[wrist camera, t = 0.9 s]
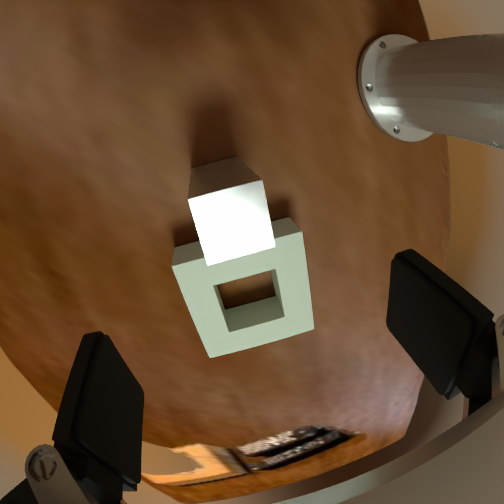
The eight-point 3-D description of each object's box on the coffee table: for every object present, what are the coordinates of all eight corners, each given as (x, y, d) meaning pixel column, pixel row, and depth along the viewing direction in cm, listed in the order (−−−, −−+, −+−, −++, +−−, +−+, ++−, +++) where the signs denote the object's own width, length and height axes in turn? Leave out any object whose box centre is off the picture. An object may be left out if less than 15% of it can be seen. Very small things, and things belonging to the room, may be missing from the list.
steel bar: (237, 156, 27) (262, 180, 17) (247, 200, 29) (275, 246, 19) (191, 168, 26) (187, 199, 17) (202, 211, 28) (207, 264, 19)
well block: (289, 216, 30) (302, 231, 27) (303, 308, 36) (314, 328, 32) (174, 247, 29) (171, 266, 26) (207, 334, 35) (209, 358, 31)
